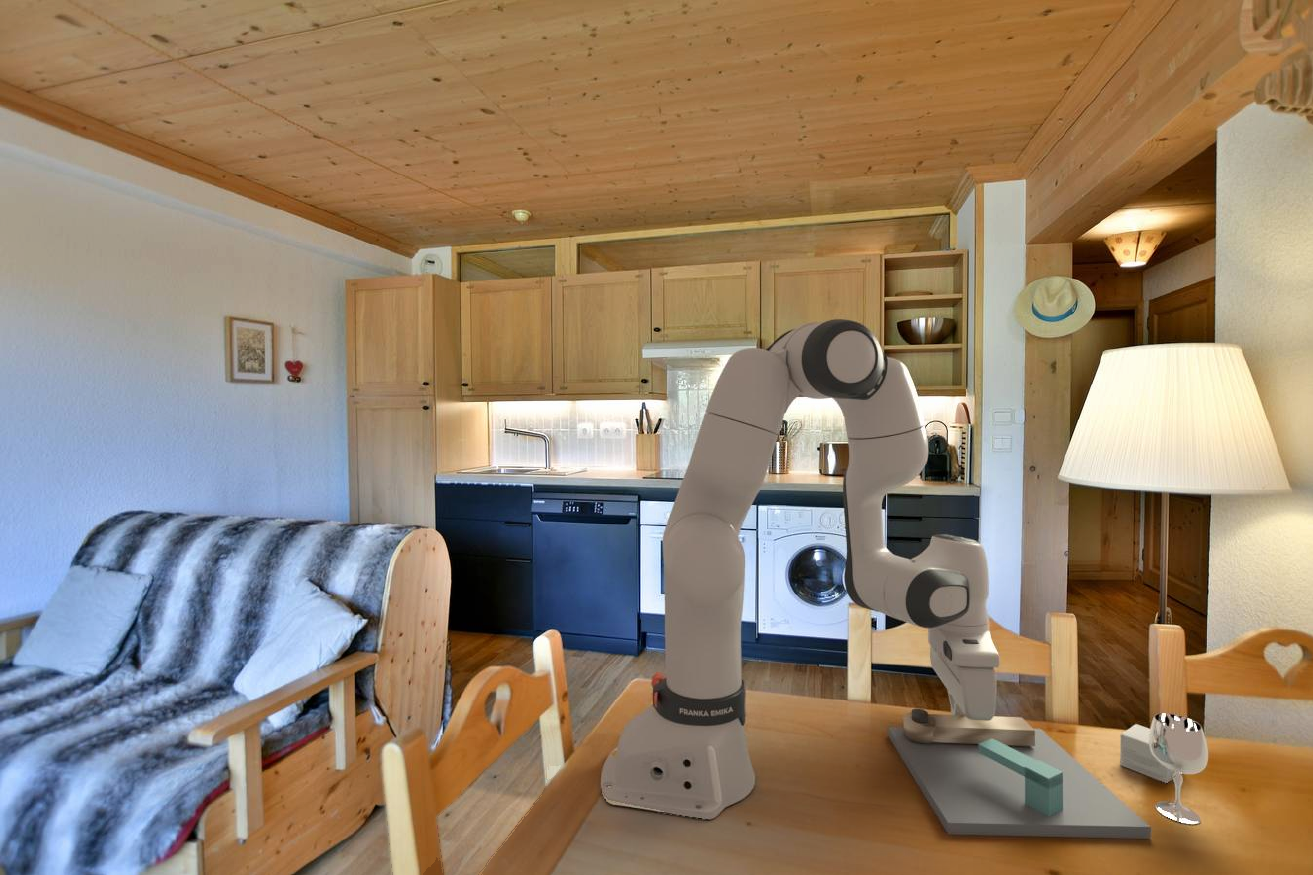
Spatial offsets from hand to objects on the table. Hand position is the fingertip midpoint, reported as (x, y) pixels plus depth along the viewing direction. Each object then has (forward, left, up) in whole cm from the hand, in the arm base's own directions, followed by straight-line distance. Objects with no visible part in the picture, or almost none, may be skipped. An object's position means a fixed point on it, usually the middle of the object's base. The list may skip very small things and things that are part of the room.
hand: (959, 719), depth 95 cm
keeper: (+1, -16, -2) cm, 16 cm away
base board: (+1, -11, -3) cm, 12 cm away
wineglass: (+20, -18, -3) cm, 27 cm away
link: (0, -3, -1) cm, 3 cm away
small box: (+24, -8, -3) cm, 25 cm away
